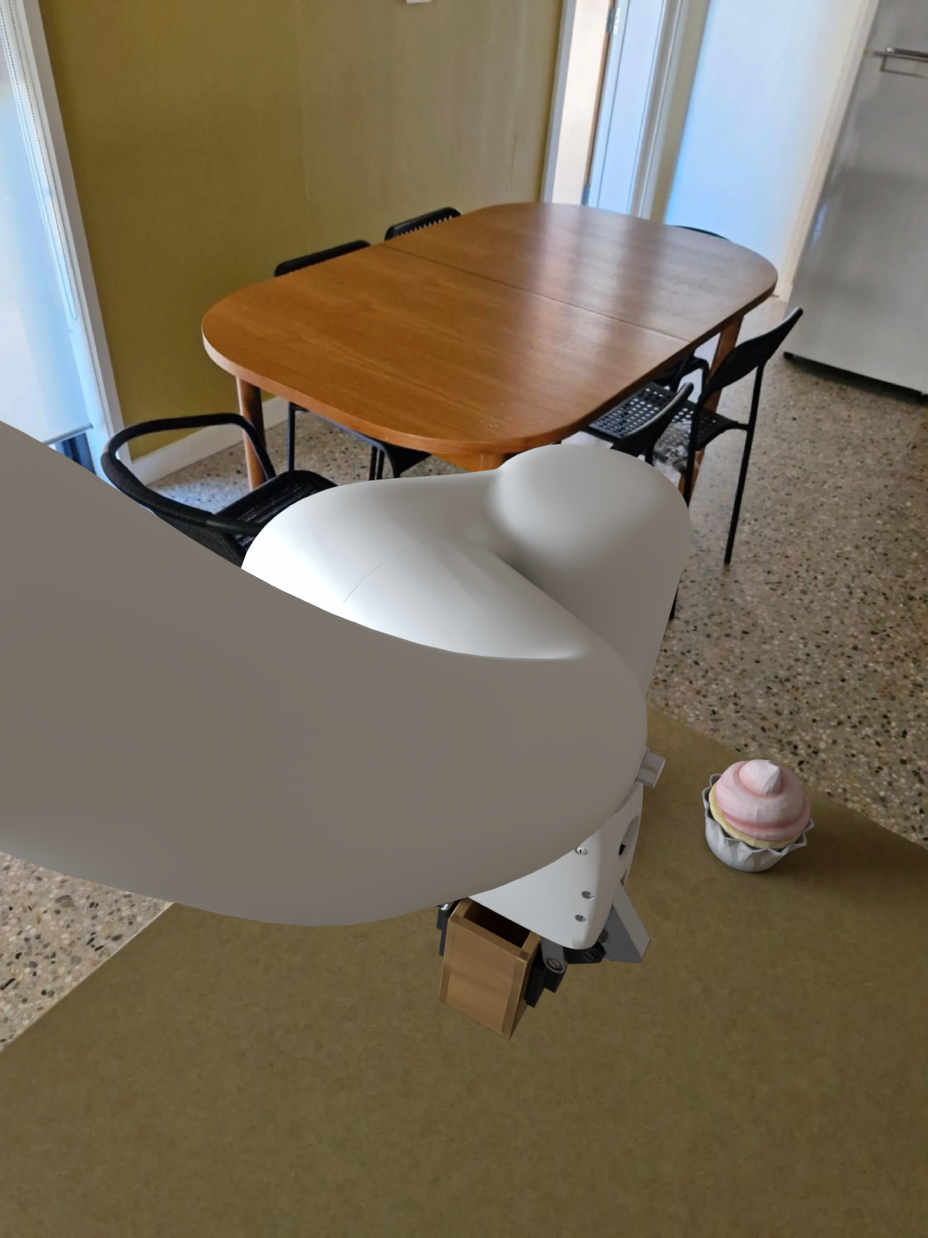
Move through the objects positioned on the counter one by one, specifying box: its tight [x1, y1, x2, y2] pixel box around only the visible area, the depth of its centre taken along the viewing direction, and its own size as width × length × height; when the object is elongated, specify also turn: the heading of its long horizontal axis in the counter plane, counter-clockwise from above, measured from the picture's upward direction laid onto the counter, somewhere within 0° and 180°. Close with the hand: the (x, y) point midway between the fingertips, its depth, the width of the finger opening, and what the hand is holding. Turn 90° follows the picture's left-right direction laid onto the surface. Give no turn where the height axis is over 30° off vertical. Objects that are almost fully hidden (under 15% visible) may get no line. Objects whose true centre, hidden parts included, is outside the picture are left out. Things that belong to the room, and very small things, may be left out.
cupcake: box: [701, 758, 815, 873], centre depth 74 cm, size 9×9×10 cm
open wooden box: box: [438, 897, 541, 1042], centre depth 48 cm, size 5×4×8 cm
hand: (498, 958), depth 49 cm, fingers closed on open wooden box, 4 cm apart
